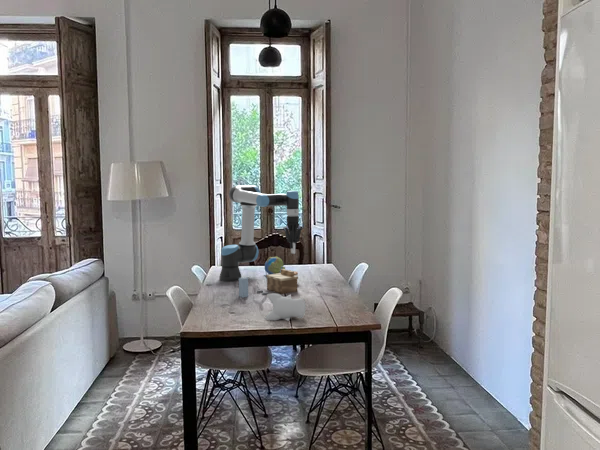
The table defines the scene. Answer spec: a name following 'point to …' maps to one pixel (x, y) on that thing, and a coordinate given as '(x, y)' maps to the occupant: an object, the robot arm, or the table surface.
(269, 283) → the toolbox
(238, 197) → the robot arm
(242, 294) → the blue-grey block
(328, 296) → the table surface
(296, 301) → the fox head
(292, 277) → the lid
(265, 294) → the pair of grey bars
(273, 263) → the globe
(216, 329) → the table surface
